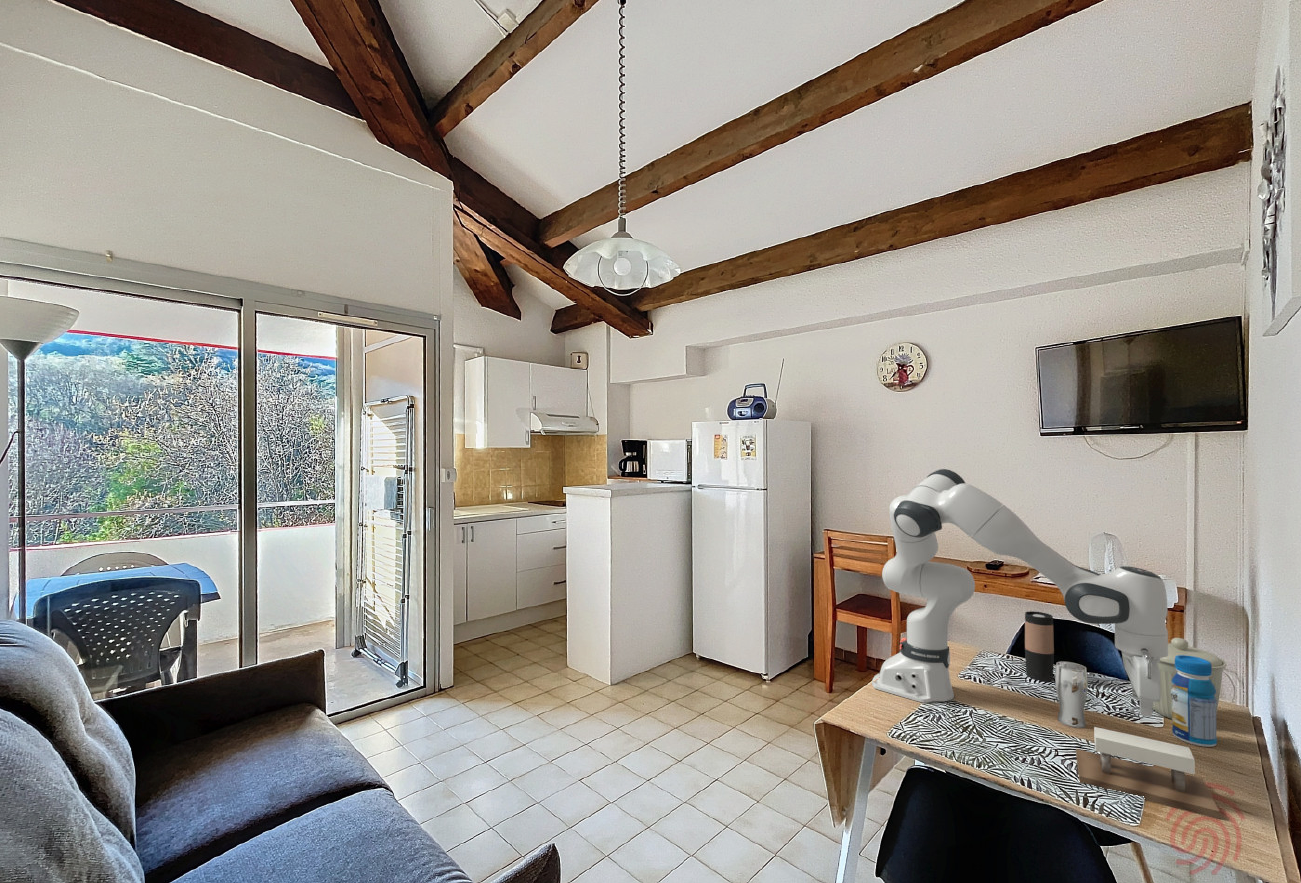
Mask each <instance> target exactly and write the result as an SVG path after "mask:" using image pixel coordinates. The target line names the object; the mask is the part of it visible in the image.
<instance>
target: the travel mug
mask: <svg viewBox="0 0 1301 883" xmlns="http://www.w3.org/2000/svg"><path fill="white" fill-rule="evenodd" d="M1054 644H1055V642H1054V616H1053V615H1052V614H1049V613H1045V612H1043V611H1035V610H1034V611H1031V610H1030V611H1025V613H1024V653H1025V654H1024V655H1025V674H1026V676H1027V678H1029V677H1030V678H1029V679H1032V678H1033V679H1032V680H1034V679H1036V680H1035V681H1038V680H1039V682H1052V681H1054V657H1055V656H1054V655H1055V648H1054V647H1055V646H1054Z"/></svg>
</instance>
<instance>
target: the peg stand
mask: <svg viewBox="0 0 1301 883" xmlns="http://www.w3.org/2000/svg"><path fill="white" fill-rule="evenodd" d="M1075 757H1076V758H1077V759H1076V765H1078V766H1077V772H1078V781H1080V782H1079V784H1082V783H1086V784H1091V785H1094V786H1098V787H1102V788H1104V789H1103V790H1105V789H1112V790H1116V791H1121V792H1125V793H1129V794H1133V795H1138V796H1144V798H1145V799H1146V800H1145V801H1148V802H1151V803H1156V804H1160V805H1164V806H1168V807H1171V808H1174V809H1175V808H1176V809H1179V810H1181V811H1182V810H1183V811H1187V812H1191V813H1194V814H1198V815H1202V816H1205V817H1206V816H1207V817H1210V818H1214V819H1217V820H1220V819H1221V818H1220V817H1221V816H1220V815H1221V814H1220V810H1219V807H1218V806H1217V804H1216V802H1215V800H1214V798H1213V796H1212V793H1211V792H1210V790H1209V788H1208V786H1207V784H1206V783H1205V780H1204V778H1203V777H1200V776H1199V777H1198V776H1194V775H1192V774H1190V775H1189V774H1188V773H1186V772H1182V771H1178V770H1173V769H1170V770H1169V769H1166V768H1162V767H1158V766H1151V765H1149V764H1148V765H1146V764H1143V763H1139V762H1136V761H1135V762H1133V761H1130V760H1126V759H1122V758H1118V757H1113V756H1112V755H1110V754H1106V753H1102V752H1099V753H1096V752H1091V751H1087V750H1083V749H1080V748H1079V749H1078V748H1076V749H1075Z"/></svg>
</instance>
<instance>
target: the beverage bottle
mask: <svg viewBox="0 0 1301 883" xmlns="http://www.w3.org/2000/svg"><path fill="white" fill-rule="evenodd" d="M1175 668H1176V670H1177V671H1178V672H1177V673H1176V674H1175V676H1174V677H1173V679H1172V681H1171V684H1172V685H1173V688H1172V690H1171V696H1172V719H1171V722H1172V727H1171V733H1172V734H1173V736H1174V737H1175V738H1176V739H1178V740H1181V741H1182V742H1184V743H1187V744H1190V745H1194V746H1196V747H1197V746H1199V747H1206V748H1212V747H1215V746H1217V744H1218V740H1217V713H1216V706H1217V700H1216V698H1215V696H1214V695H1215V694H1216V689H1215V686H1214V685H1213V683H1212V682H1211V680H1210V679H1209V678H1208V677H1210V676H1211V675H1212V665H1211V663H1210V662H1209V661H1207V660H1205V659H1202V658H1198V657H1193V656H1186V655H1178V656H1176V657H1175Z"/></svg>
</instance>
